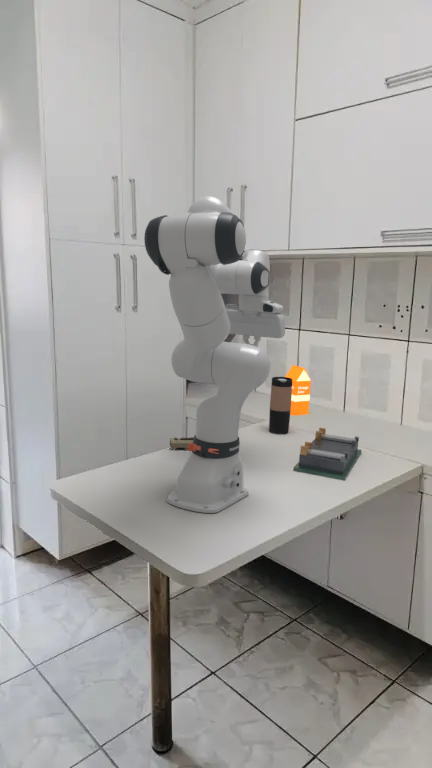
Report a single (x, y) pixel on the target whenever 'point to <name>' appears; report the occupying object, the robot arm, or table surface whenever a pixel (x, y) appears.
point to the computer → (180, 443)
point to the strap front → (325, 454)
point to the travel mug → (280, 405)
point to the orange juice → (299, 390)
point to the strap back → (337, 438)
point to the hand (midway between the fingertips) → (251, 350)
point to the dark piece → (325, 464)
